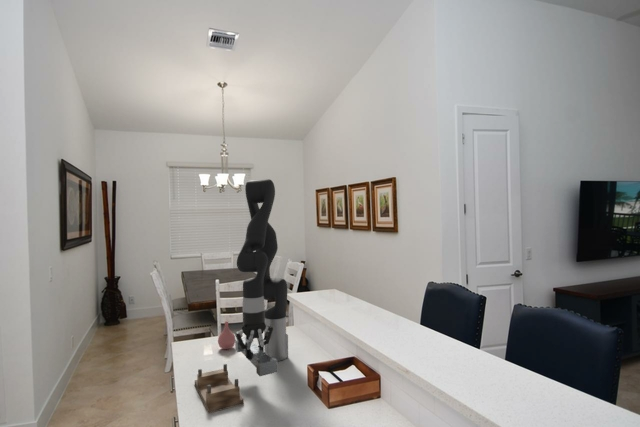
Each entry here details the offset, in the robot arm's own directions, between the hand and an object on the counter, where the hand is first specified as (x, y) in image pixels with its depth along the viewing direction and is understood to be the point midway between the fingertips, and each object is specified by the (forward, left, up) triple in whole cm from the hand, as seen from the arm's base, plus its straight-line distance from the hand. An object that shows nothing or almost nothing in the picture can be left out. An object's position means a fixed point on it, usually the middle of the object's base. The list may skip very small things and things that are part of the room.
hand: (254, 357), depth 132 cm
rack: (+12, -2, -10) cm, 16 cm away
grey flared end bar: (0, 0, -1) cm, 1 cm away
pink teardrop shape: (-2, -43, -11) cm, 44 cm away
